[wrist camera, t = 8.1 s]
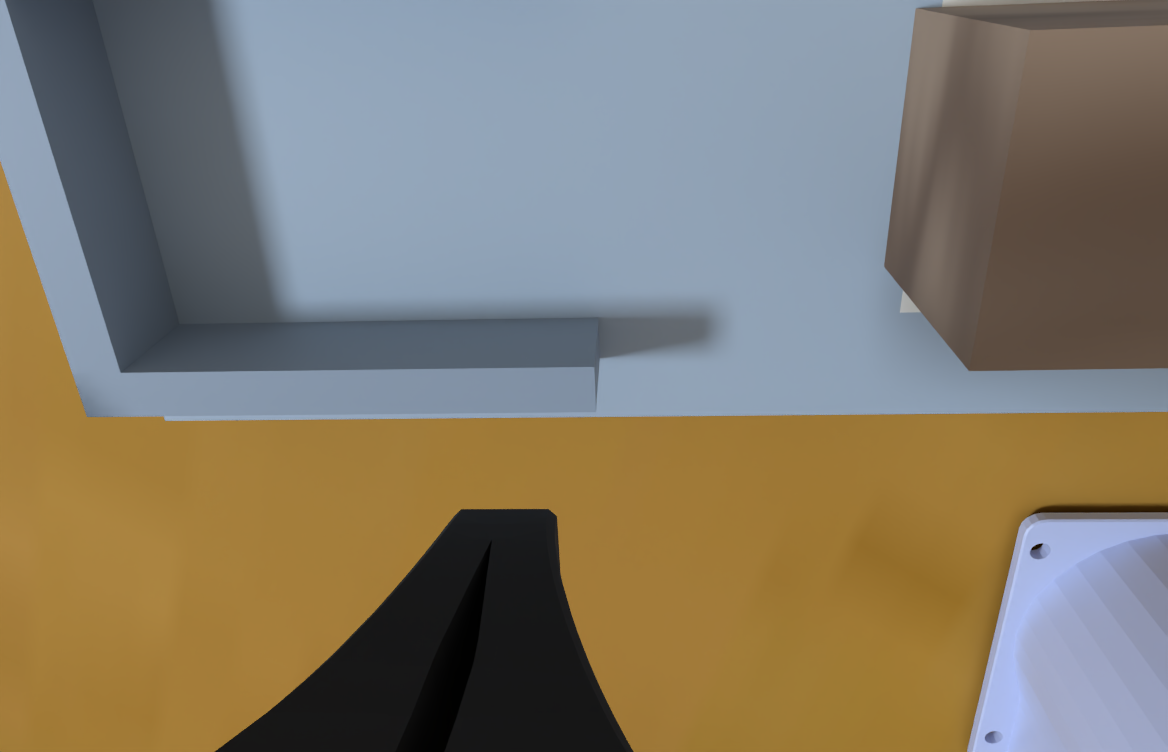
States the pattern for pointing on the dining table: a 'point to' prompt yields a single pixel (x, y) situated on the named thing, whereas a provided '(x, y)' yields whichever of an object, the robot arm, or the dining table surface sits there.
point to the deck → (484, 210)
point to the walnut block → (1037, 184)
